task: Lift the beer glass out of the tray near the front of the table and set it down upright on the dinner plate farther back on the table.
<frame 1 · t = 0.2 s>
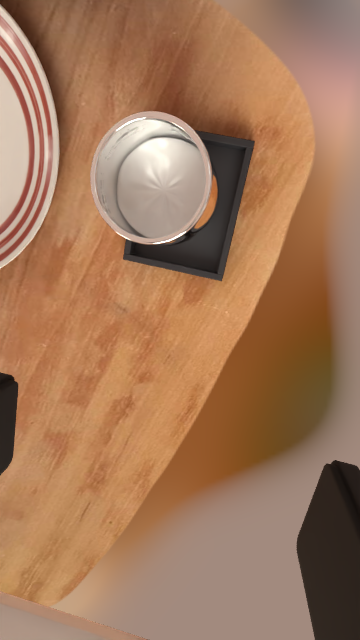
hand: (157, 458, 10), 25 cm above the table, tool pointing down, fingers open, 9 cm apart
beer glass: (186, 205, 32), resting on tray
tray: (186, 205, 32), on the table
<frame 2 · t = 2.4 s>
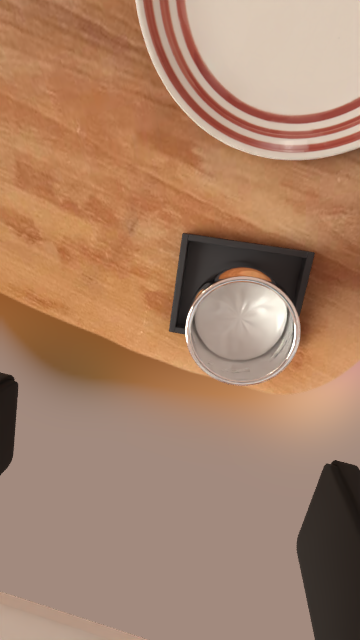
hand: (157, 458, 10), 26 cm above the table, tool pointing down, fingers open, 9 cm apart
beer glass: (237, 291, 34), resting on tray
tray: (237, 291, 34), on the table
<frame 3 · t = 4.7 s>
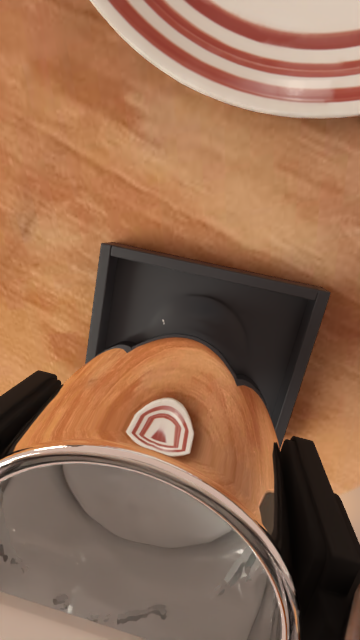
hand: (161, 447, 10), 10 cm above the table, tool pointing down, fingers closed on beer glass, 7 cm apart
beer glass: (196, 344, 20), resting on tray, touching gripper
tray: (196, 343, 20), on the table
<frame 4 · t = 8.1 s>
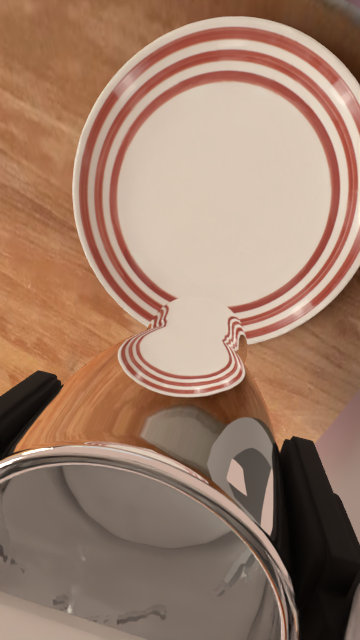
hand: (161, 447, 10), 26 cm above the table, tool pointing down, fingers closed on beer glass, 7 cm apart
dinner plate: (220, 205, 33), on the table
beer glass: (195, 344, 20), point 15 cm above the table, touching gripper
when the fingers open (14 cm above the table, at t = 11.8 s): beer glass stays where it is, resting on dinner plate.
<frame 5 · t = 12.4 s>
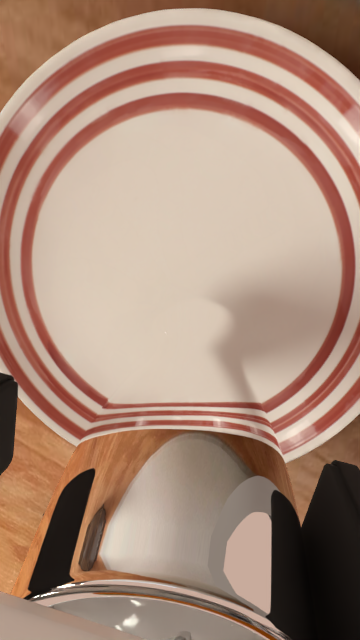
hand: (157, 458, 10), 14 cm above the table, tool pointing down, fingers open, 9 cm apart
dinner plate: (181, 280, 23), on the table, touching beer glass
beer glass: (196, 344, 20), point 3 cm above the table, touching dinner plate
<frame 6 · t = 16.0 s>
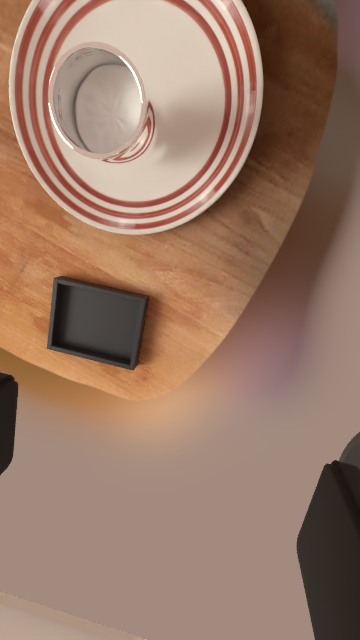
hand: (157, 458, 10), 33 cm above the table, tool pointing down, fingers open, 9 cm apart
dinner plate: (137, 111, 38), on the table, touching beer glass
beer glass: (143, 134, 36), point 3 cm above the table, touching dinner plate
tray: (99, 321, 45), on the table
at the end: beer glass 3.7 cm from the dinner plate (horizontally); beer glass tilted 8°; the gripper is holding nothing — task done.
